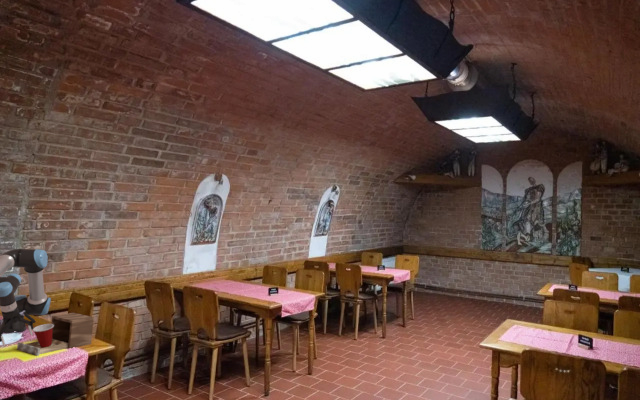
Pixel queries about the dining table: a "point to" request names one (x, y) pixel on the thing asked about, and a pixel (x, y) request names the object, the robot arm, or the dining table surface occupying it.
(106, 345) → the dining table surface
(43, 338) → the plastic cup
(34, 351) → the tray
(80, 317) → the block
